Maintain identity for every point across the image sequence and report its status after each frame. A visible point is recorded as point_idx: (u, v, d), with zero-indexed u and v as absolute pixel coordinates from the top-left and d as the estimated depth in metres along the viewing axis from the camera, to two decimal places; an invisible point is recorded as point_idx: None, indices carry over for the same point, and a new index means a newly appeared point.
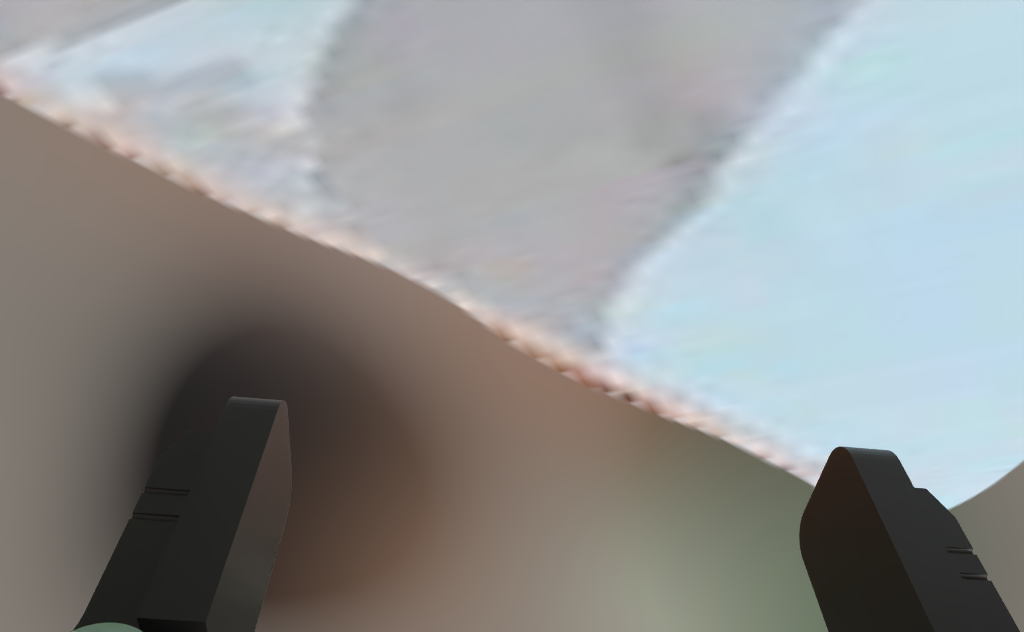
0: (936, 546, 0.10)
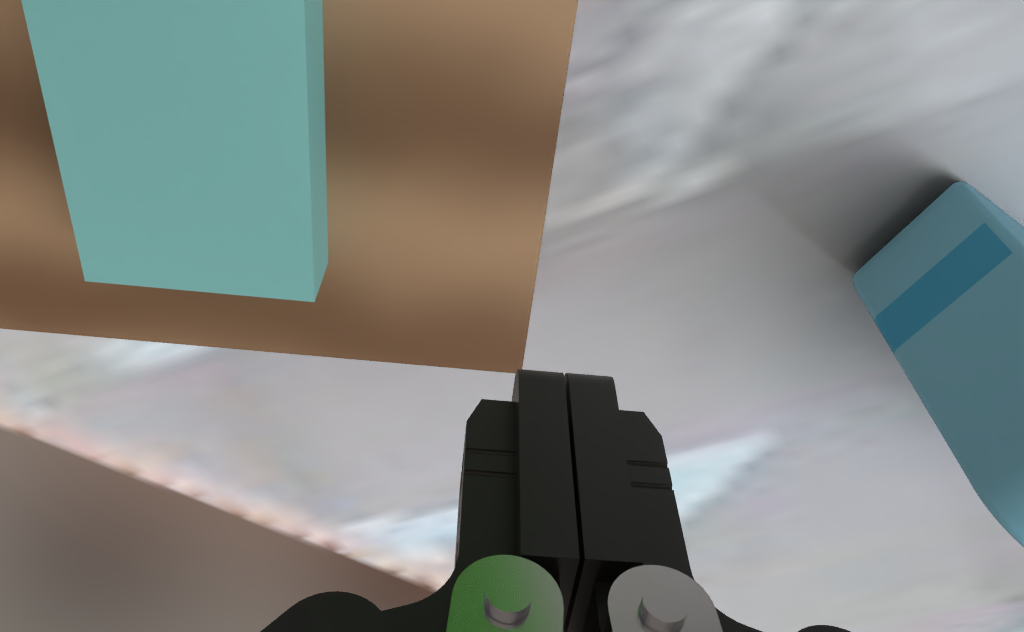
0: (617, 456, 0.11)
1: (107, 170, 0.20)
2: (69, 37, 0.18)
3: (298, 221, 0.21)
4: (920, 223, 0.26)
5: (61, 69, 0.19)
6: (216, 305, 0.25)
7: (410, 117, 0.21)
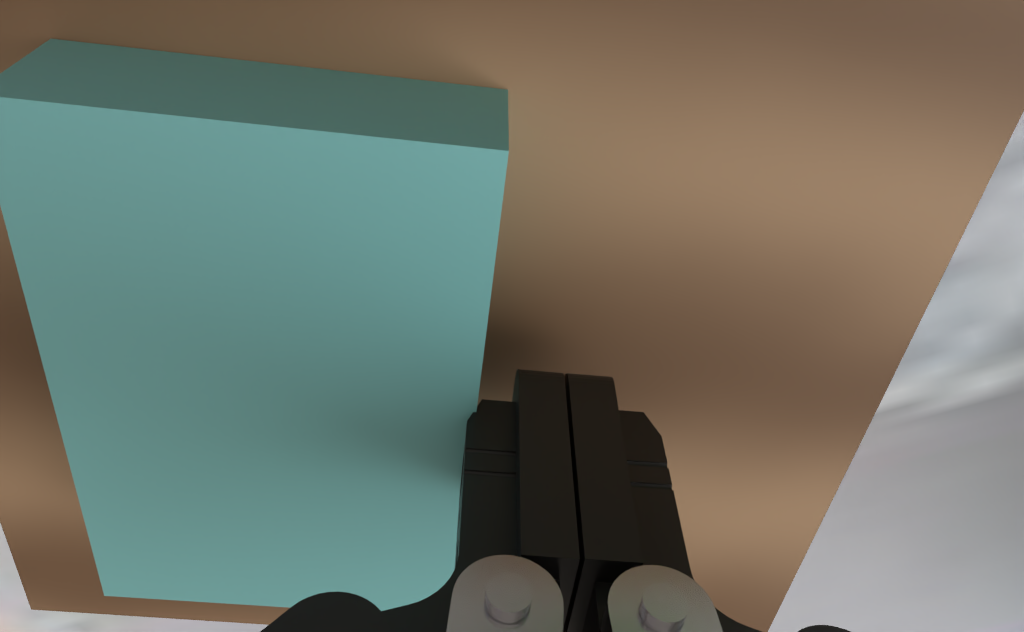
0: (617, 456, 0.11)
1: (144, 465, 0.13)
2: (90, 287, 0.11)
3: (441, 525, 0.13)
4: None
5: (75, 331, 0.11)
6: None
7: (672, 363, 0.14)
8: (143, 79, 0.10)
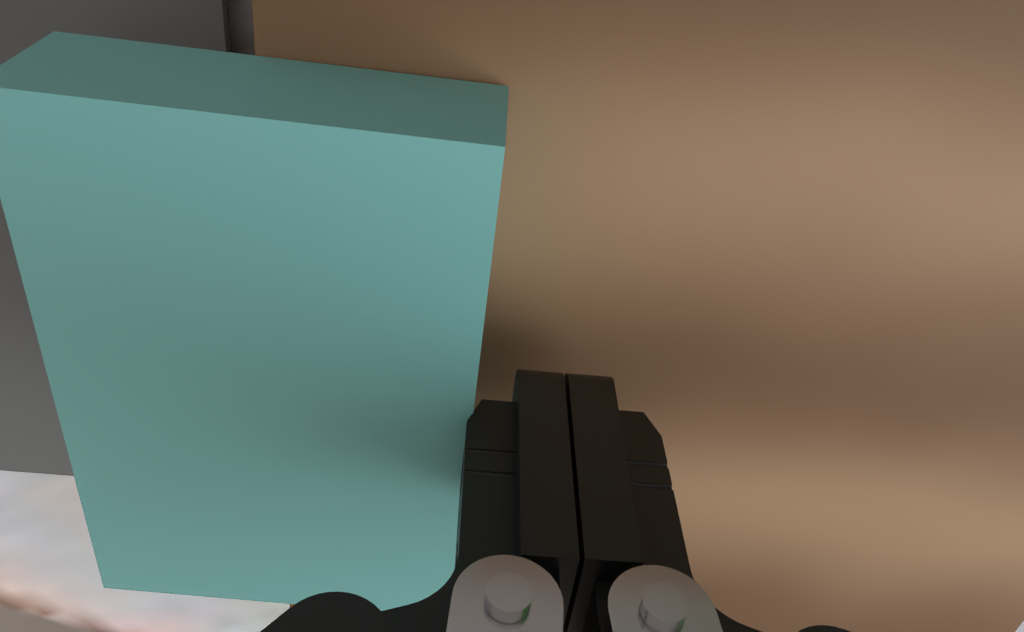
0: (617, 456, 0.11)
1: (143, 457, 0.13)
2: (88, 278, 0.11)
3: (438, 524, 0.13)
4: None
5: (74, 323, 0.11)
6: None
7: (984, 387, 0.14)
8: (142, 72, 0.10)
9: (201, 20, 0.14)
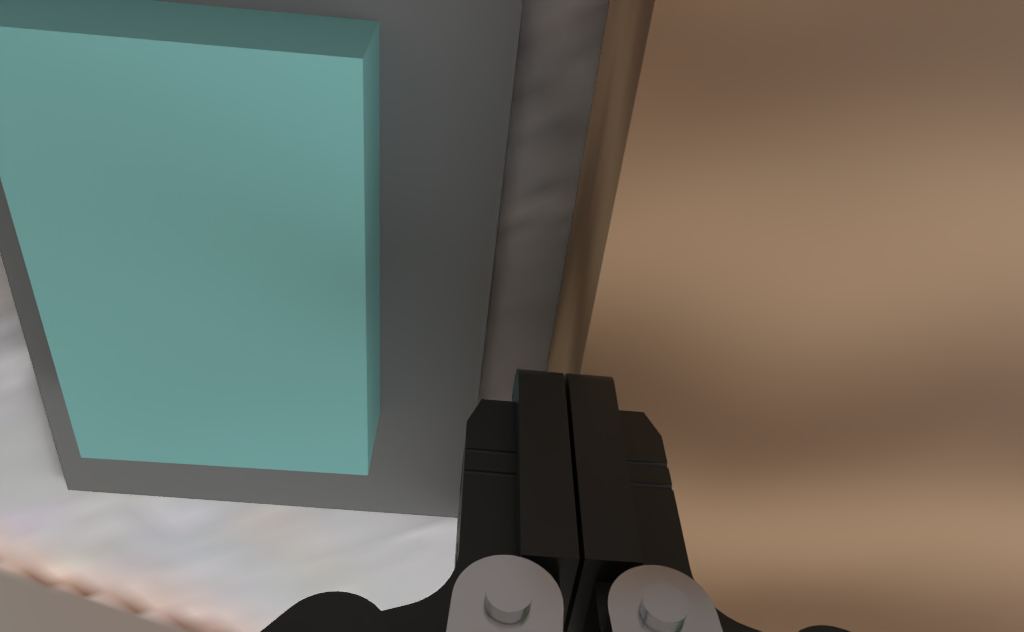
0: (617, 456, 0.11)
1: None
2: None
3: None
4: None
5: None
6: None
7: None
8: (276, 28, 0.13)
9: (494, 72, 0.15)
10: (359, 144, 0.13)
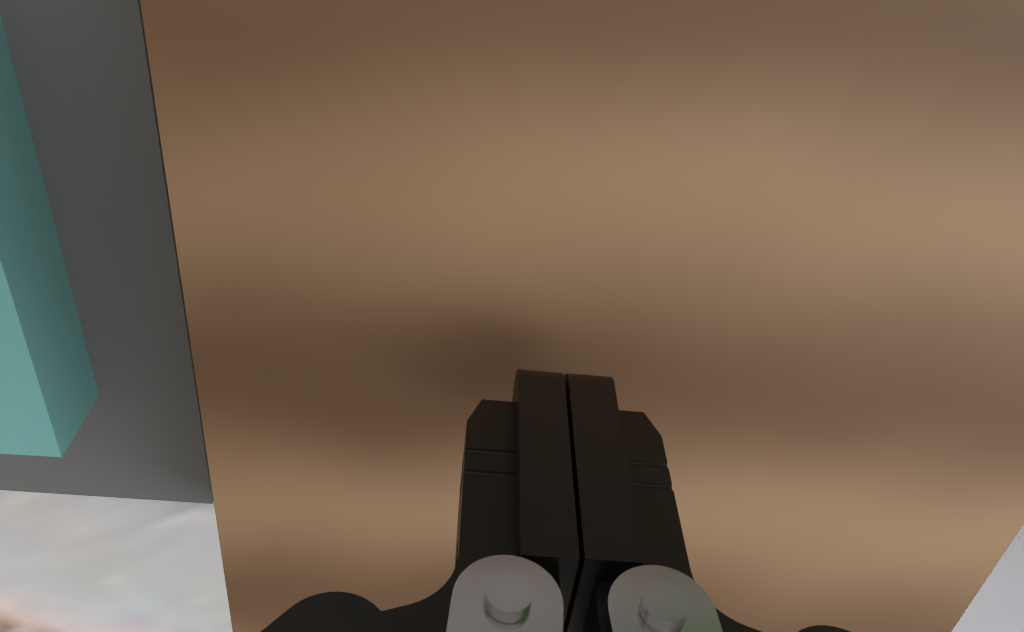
0: (617, 456, 0.11)
1: None
2: None
3: None
4: None
5: None
6: None
7: (893, 395, 0.15)
8: None
9: (123, 46, 0.15)
10: None
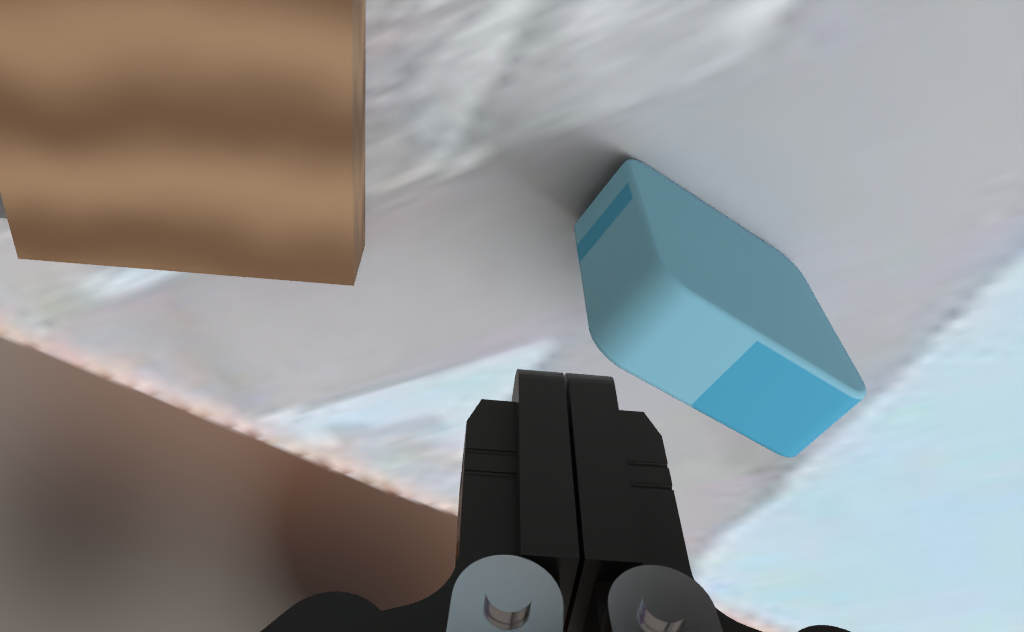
0: (617, 456, 0.11)
1: None
2: None
3: None
4: (606, 185, 0.41)
5: None
6: (155, 241, 0.39)
7: (264, 120, 0.36)
8: None
9: None
10: None
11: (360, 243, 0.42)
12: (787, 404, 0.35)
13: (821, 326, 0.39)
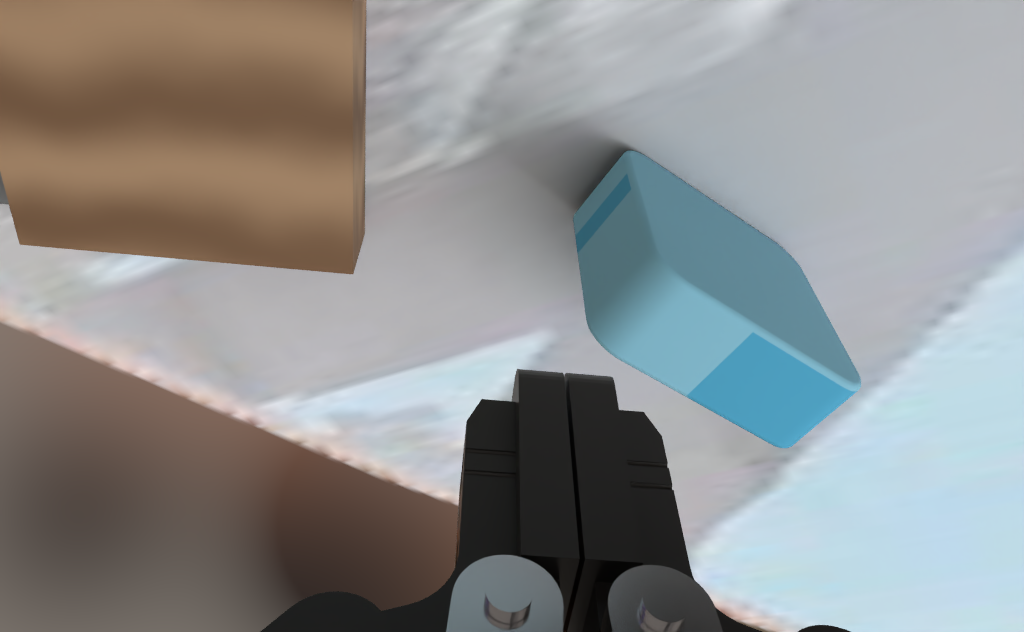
0: (617, 456, 0.11)
1: None
2: None
3: None
4: (605, 176, 0.41)
5: None
6: (156, 228, 0.40)
7: (264, 109, 0.36)
8: None
9: None
10: None
11: (360, 232, 0.43)
12: (782, 395, 0.35)
13: (818, 318, 0.39)
